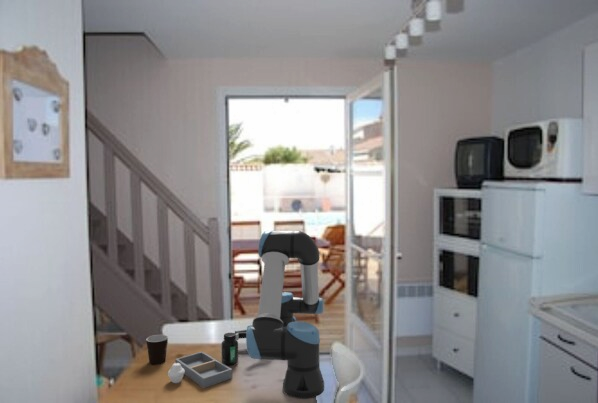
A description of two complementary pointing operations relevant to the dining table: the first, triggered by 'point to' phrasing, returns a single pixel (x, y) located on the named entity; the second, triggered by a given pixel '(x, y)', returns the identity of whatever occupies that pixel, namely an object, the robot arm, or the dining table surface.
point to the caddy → (204, 369)
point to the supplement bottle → (229, 349)
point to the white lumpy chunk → (176, 373)
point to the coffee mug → (157, 349)
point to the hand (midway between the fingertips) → (237, 344)
